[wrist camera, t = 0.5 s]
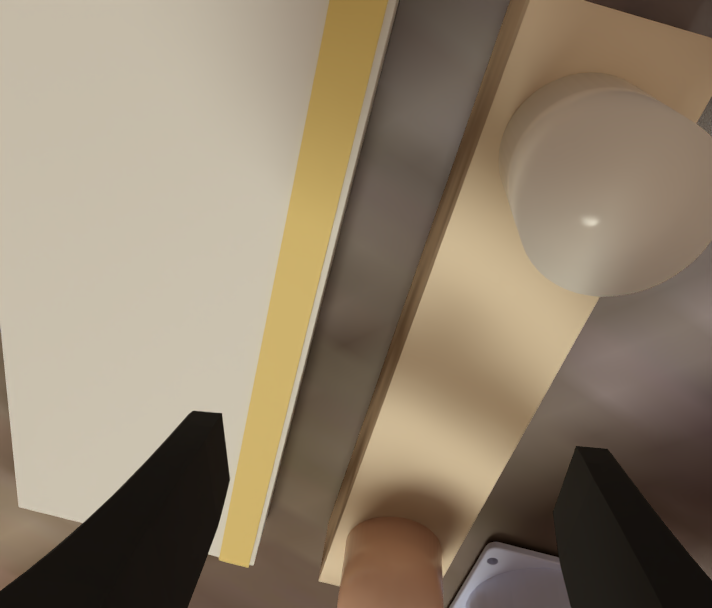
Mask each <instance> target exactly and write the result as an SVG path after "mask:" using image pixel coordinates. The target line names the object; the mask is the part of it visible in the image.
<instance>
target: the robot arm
mask: <svg viewBox="0 0 712 608" xmlns="http://www.w3.org/2000/svg"><path fill="white" fill-rule="evenodd" d="M229 482H230V475H229V467H228V459H227V451H226V442H225V434H224V426H223V418H222V413H214V412H203V411H192V412H191V413H189V414H188V415H187V416H186V418H185V419H184V420H183V421H182V422H181V423H180V424H179V425H178V427H177V428H176V429H175V430H174V431H173V432H172V433H171V434H170V436H169V437H168V438H167V439H166V440H165V441H164V442H163V443H162V444H161V445H160V447H159V448H158V449H157V450H156V451H155V452H154V453H153V454H152V455H151V456H150V457H149V458H148V460H147V461H146V462H145V463H144V464H143V465H142V466H141V467H140V468H139V469H138V470H137V471H136V472H135V473H134V474H133V475H132V476H131V477H130V478H129V479H128V480H127V481H126V482H125V483H124V484H123V485H122V486H121V487H120V488H119V489H118V490H117V491H116V492H115V493H114V494H113V495H112V496H111V497H110V498H109V499H108V500H107V501H106V502H105V503H104V504H103V505H102V506H101V507H100V508H98V509H97V510H96V511H95V512H94V513H93V514H92V515H91V516H90V517H89V518H88V519H87V520H86V521H85V522H84V523H83V524H81V525H80V526H79V527H78V528H77V529H76V530H75V531H74V532H73V533H71V534H70V535H69V536H68V537H67V538H66V539H65V540H63V541H62V542H61V543H60V544H59V545H58V546H56V547H55V548H54V549H53V550H52V551H50V552H49V553H48V554H47V555H46V556H44V557H43V558H42V559H41V560H39V561H38V562H37V563H36V564H35V565H33V566H32V567H31V568H30V569H28V570H27V571H26V572H25V573H23V574H22V575H21V576H19V577H18V578H17V579H15V580H14V581H13V582H11V583H10V584H9V585H7V586H6V587H5V588H4V589H2V590H1V591H0V608H187V607H188V605H189V602H190V600H191V597H192V594H193V592H194V589H195V587H196V584H197V581H198V579H199V576H200V574H201V571H202V568H203V566H204V563H205V560H206V558H207V555H208V553H209V550H210V547H211V545H212V542H213V539H214V537H215V534H216V531H217V528H218V525H219V521H220V518H221V514H222V510H223V506H224V502H225V498H226V494H227V490H228V486H229ZM553 516H554V524H555V532H556V541H557V547H558V554H559V557H555V556H551V555H547V554H544V553H540V552H536V551H532V550H528V549H524V548H520V547H516V546H512V545H508V544H504V543H500V542H491V543H489V544H487V545H486V547H485V548H484V550H483V552H482V553H481V555H480V557H479V558H478V560H477V562H476V563H475V565H474V567H473V568H472V570H471V572H470V573H469V575H468V577H467V578H466V580H465V582H464V584H463V585H462V587H461V589H460V590H459V592H458V594H457V595H456V597H455V599H454V600H453V602H452V604H451V605H450V607H449V608H712V580H711V579H710V578H709V577H708V576H707V575H706V573H705V572H704V571H703V570H702V569H701V568H700V566H699V565H698V564H697V563H696V562H695V561H694V559H693V558H692V557H691V556H690V555H689V553H688V552H687V551H686V550H685V548H684V547H683V546H682V545H681V543H680V542H679V541H678V540H677V539H676V537H675V536H674V535H673V534H672V532H671V531H670V530H669V529H668V527H667V526H666V525H665V524H664V522H663V521H662V520H661V519H660V517H659V516H658V515H657V513H656V512H655V511H654V510H653V508H652V507H651V506H650V504H649V503H648V502H647V500H646V499H645V498H644V497H643V495H642V494H641V493H640V491H639V490H638V489H637V487H636V486H635V485H634V483H633V482H632V481H631V479H630V478H629V477H628V475H627V474H626V473H625V471H624V470H623V469H622V467H621V466H620V465H619V463H618V462H617V461H616V459H615V458H614V457H613V455H612V454H611V453H610V452H609V450H608V449H601V448H590V447H579V446H576V448H575V451H574V454H573V457H572V460H571V462H570V465H569V468H568V471H567V474H566V477H565V479H564V482H563V485H562V488H561V491H560V494H559V496H558V499H557V502H556V505H555V508H554V510H553Z"/></svg>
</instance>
